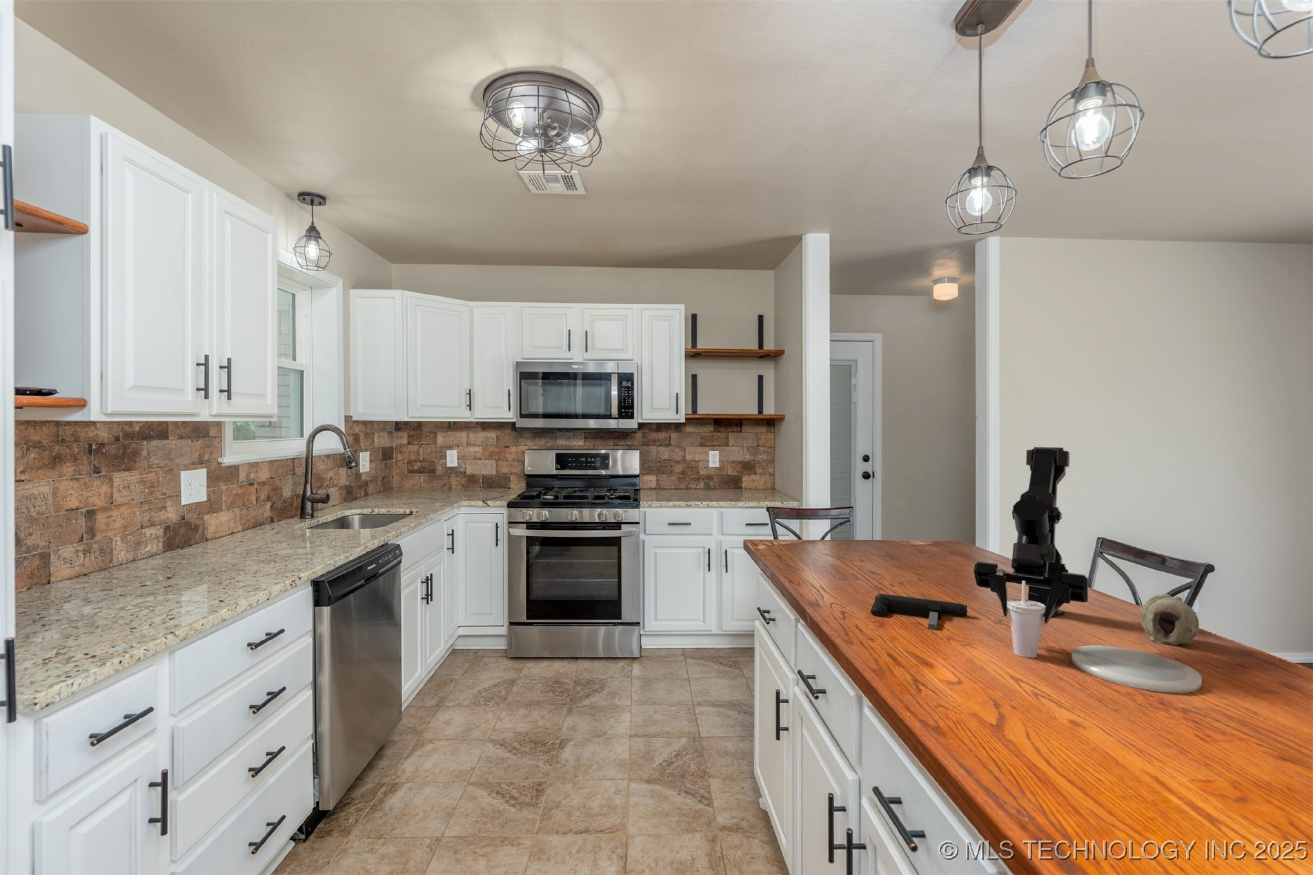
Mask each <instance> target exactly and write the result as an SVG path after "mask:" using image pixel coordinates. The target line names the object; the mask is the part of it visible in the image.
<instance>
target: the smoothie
mask: <svg viewBox="0 0 1313 875" xmlns="http://www.w3.org/2000/svg"><path fill="white" fill-rule="evenodd" d="M1021 586H1022V587H1021V599H1020V598H1011V599H1007V607H1008V614H1009V623H1010V628H1011V629H1010V630H1011V638H1012V646H1013V653H1014V654H1015V655H1017V656H1020V657H1022V658H1027V659H1032V658H1037V657H1038V652H1039V651H1038V650H1039V644H1040V638H1041V634H1042V626H1043V622H1044V613H1045V610H1046V606H1045V605H1043V604H1041V603H1039V602H1035V601H1030V600H1028V599H1026V586H1027V585H1026V581H1022V585H1021Z"/></svg>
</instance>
